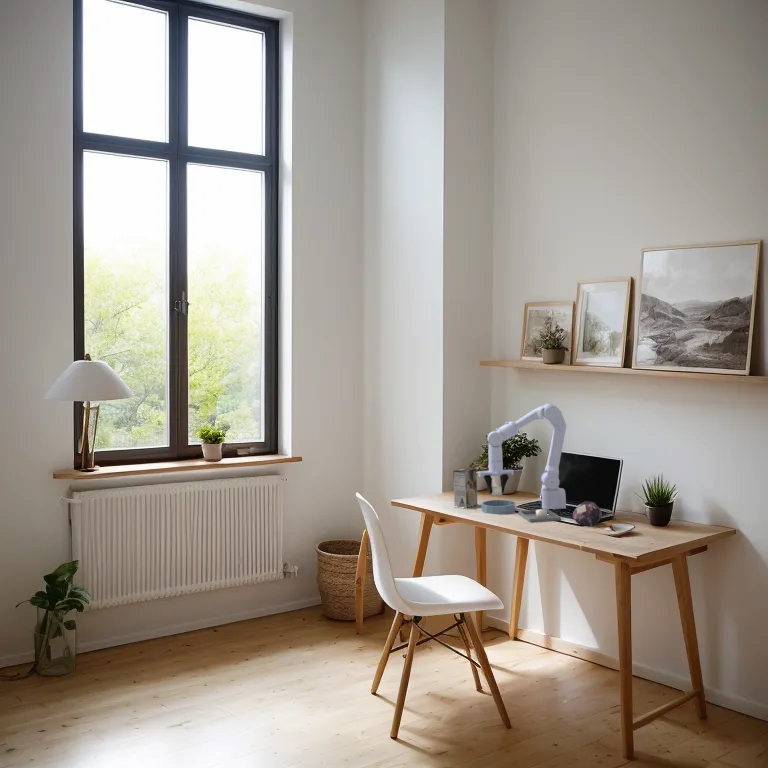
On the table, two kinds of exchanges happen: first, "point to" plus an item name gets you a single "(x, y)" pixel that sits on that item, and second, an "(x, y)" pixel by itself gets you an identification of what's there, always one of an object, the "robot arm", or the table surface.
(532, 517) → the parts tray
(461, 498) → the coffee box
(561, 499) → the robot arm
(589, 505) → the mineral specimen
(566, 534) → the table surface
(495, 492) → the light pebble
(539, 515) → the cream rounded piece
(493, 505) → the bowl
